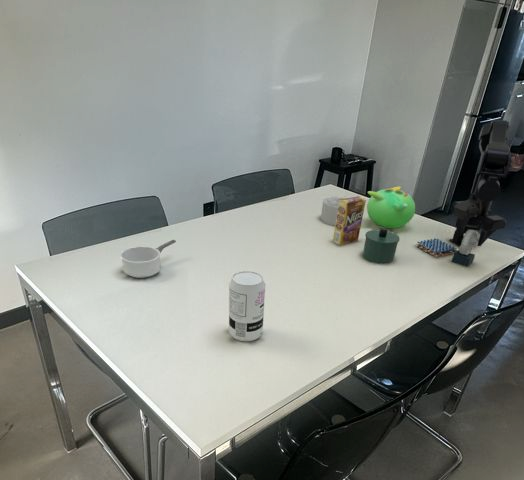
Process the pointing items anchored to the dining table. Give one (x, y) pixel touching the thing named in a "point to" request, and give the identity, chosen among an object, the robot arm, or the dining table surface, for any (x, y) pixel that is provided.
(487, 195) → the robot arm
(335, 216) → the lumpy-topped squat cylinder
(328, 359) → the dining table surface
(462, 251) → the watch
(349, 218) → the candy box
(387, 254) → the pot
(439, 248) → the woven mat
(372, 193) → the green toy creature
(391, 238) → the pot lid
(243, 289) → the supplement can
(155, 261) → the saucepan
